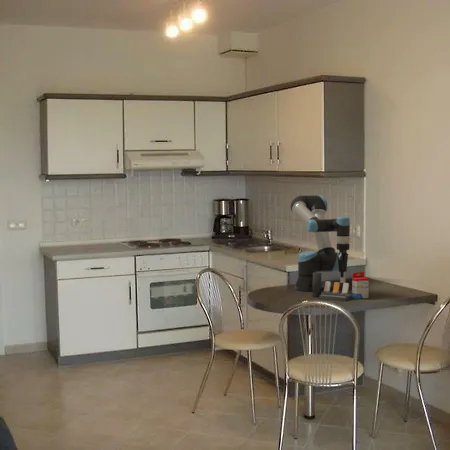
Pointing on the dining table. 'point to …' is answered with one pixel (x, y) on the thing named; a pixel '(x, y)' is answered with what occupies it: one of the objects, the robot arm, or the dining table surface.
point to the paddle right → (345, 289)
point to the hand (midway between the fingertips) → (342, 282)
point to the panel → (335, 296)
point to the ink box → (360, 286)
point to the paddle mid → (336, 288)
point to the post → (316, 284)
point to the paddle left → (327, 287)
